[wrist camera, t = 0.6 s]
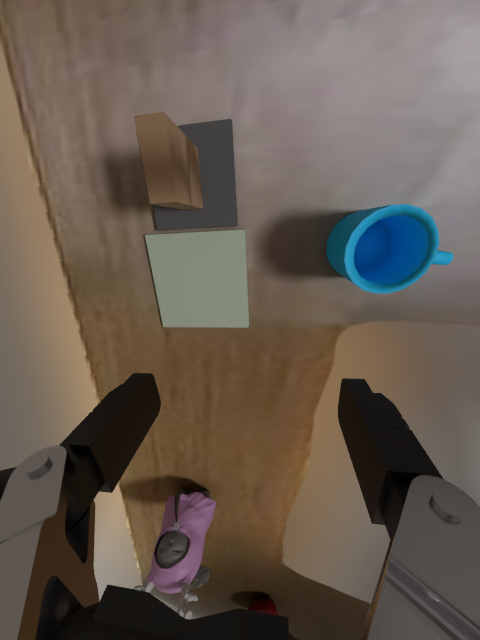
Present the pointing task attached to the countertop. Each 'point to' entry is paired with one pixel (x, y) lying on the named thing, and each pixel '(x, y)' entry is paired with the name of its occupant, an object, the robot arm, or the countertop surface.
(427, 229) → the mug
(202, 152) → the coaster
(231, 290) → the board
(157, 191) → the slab
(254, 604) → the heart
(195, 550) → the toy character
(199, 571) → the geode
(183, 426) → the countertop surface
